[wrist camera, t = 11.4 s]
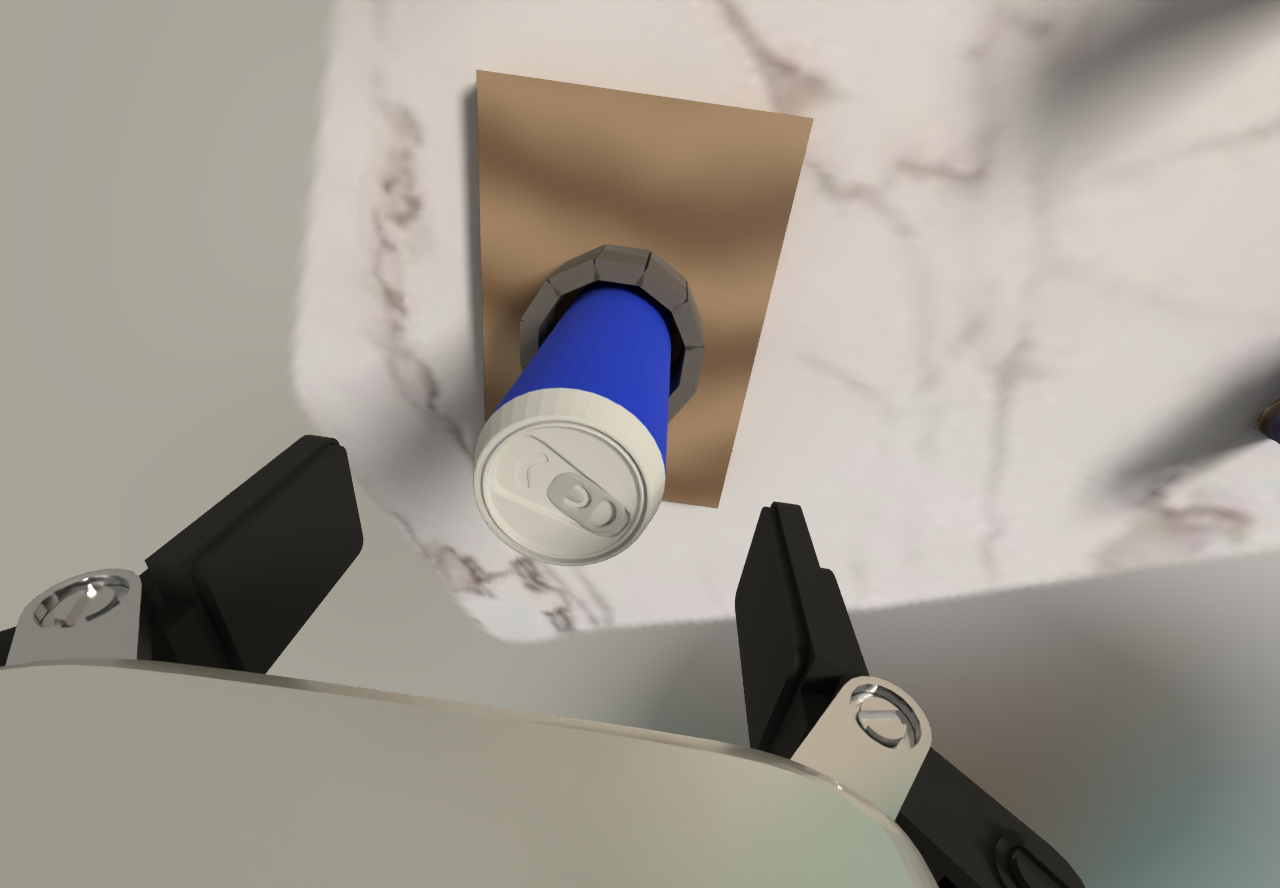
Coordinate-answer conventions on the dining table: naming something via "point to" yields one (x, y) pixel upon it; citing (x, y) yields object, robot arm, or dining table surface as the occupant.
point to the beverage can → (582, 433)
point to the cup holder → (636, 238)
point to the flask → (1270, 422)
